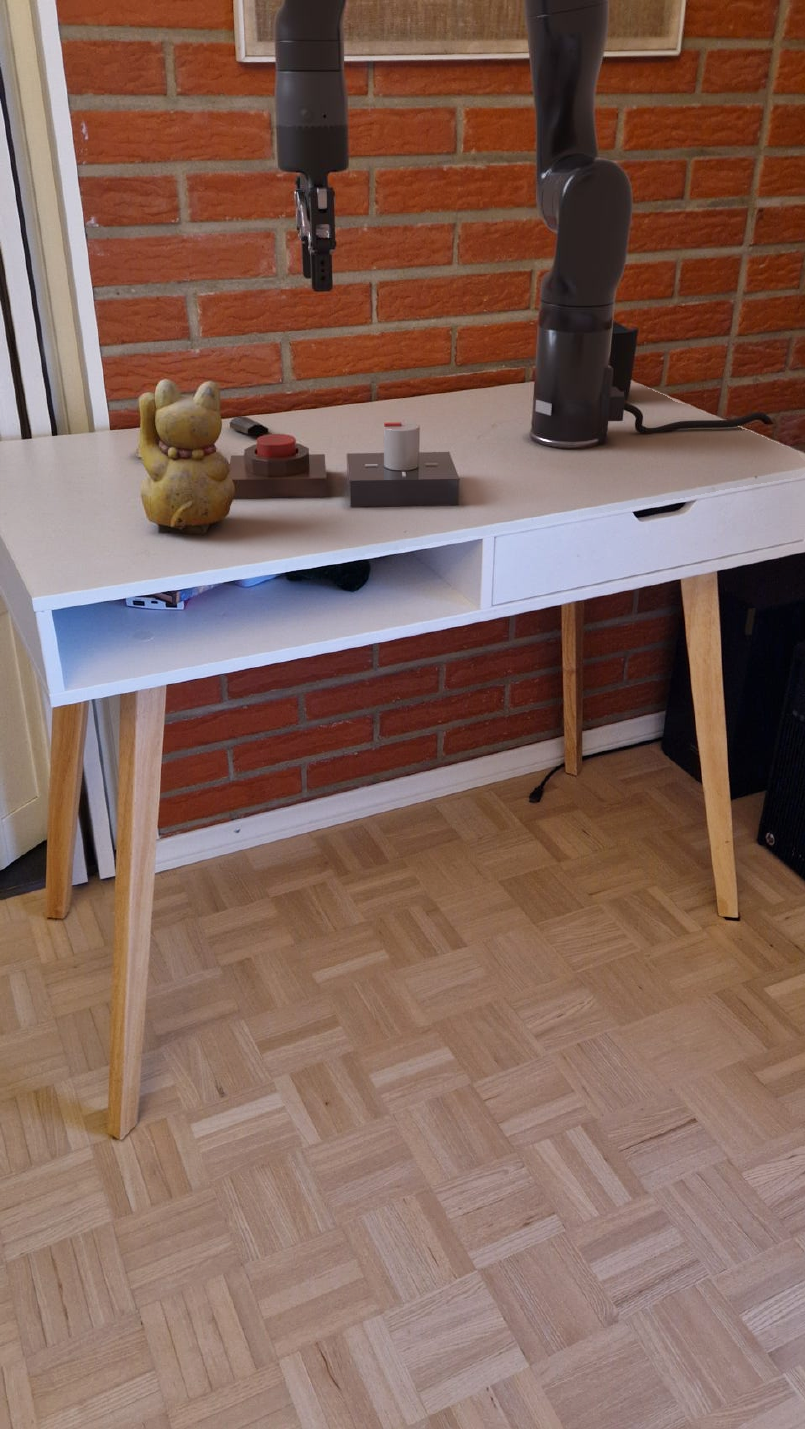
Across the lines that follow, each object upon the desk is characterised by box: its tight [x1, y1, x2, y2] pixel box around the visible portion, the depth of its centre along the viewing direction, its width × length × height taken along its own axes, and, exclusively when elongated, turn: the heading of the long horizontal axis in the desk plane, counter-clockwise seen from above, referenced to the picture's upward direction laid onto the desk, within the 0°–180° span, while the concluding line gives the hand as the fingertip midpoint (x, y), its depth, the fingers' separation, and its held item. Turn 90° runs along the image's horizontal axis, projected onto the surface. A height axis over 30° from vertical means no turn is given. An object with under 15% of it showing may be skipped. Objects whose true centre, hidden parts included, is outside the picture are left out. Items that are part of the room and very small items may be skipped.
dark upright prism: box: [609, 320, 640, 401], centre depth 169 cm, size 9×9×10 cm
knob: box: [383, 420, 421, 471], centre depth 132 cm, size 4×4×5 cm
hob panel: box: [346, 451, 461, 508], centre depth 134 cm, size 12×10×3 cm
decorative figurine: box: [138, 378, 235, 535], centre depth 120 cm, size 10×8×15 cm
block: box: [229, 415, 269, 435], centre depth 154 cm, size 4×6×2 cm, turn 33°
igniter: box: [228, 442, 328, 499], centre depth 135 cm, size 11×9×4 cm
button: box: [256, 433, 297, 458], centre depth 134 cm, size 4×4×2 cm
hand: (317, 284), depth 131 cm, fingers open, 8 cm apart
